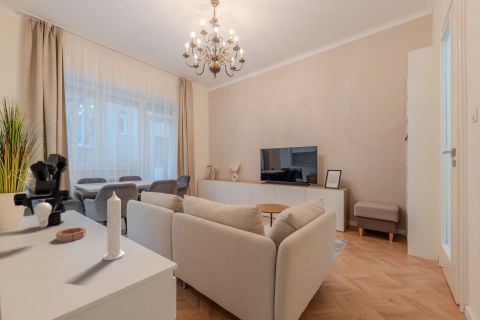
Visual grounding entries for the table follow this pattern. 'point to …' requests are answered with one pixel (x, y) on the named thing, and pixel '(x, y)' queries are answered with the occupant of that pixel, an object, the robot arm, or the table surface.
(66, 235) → the holder
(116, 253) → the candle
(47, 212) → the lightbulb
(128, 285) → the table surface
